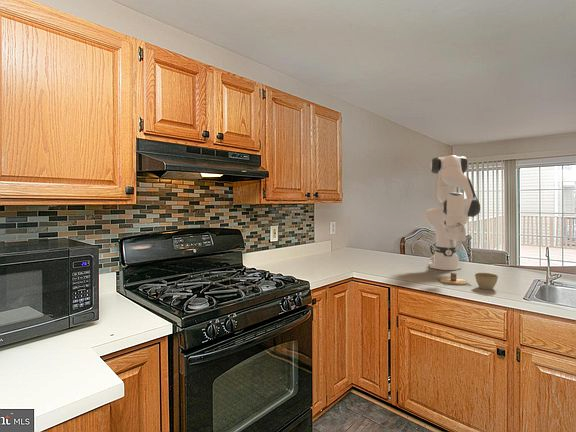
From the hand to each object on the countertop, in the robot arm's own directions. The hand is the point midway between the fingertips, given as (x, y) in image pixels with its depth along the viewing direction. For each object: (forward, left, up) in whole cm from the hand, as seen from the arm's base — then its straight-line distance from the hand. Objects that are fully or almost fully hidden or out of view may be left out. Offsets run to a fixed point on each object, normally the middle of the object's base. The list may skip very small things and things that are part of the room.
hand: (454, 248), depth 183 cm
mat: (0, 0, -19) cm, 19 cm away
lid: (0, 0, -18) cm, 18 cm away
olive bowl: (+11, +12, -19) cm, 25 cm away
